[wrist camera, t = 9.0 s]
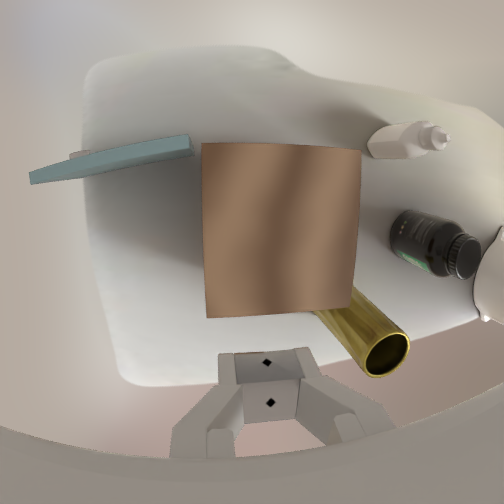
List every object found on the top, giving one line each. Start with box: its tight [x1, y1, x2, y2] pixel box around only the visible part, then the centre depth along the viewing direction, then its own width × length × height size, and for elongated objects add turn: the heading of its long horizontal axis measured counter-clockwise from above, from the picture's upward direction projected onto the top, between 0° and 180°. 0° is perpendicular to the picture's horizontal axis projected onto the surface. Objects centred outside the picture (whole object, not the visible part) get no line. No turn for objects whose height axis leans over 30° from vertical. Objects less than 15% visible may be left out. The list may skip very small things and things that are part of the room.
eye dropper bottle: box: [367, 121, 451, 159], centre depth 28 cm, size 4×6×12 cm
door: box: [29, 134, 194, 185], centre depth 24 cm, size 2×13×11 cm, turn 97°
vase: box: [313, 285, 410, 378], centre depth 31 cm, size 6×6×14 cm
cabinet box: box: [201, 143, 361, 318], centre depth 28 cm, size 12×13×12 cm
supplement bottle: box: [390, 210, 481, 280], centre depth 32 cm, size 7×7×12 cm
